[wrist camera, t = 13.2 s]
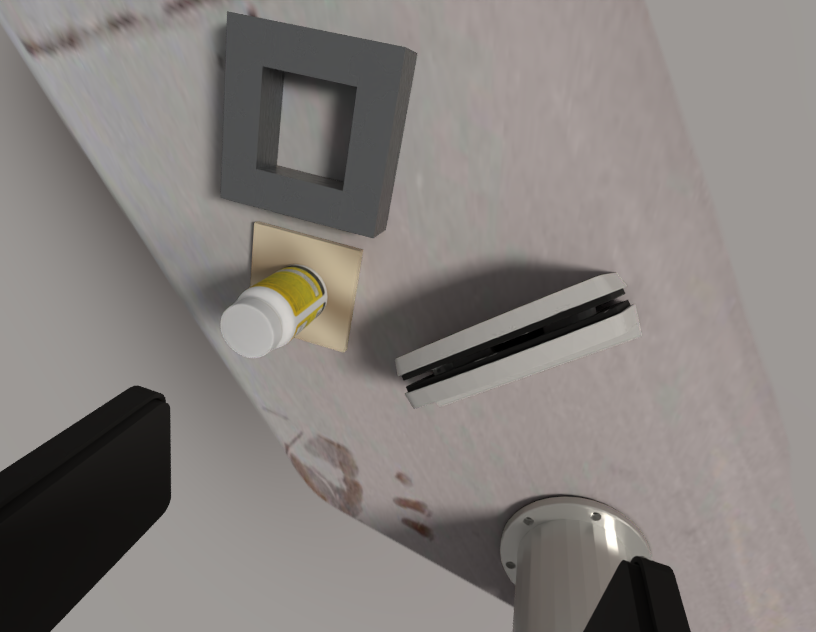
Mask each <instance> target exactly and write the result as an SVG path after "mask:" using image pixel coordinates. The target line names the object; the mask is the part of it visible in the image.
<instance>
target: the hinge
mask: <svg viewBox="0 0 816 632" xmlns="http://www.w3.org/2000/svg"><path fill="white" fill-rule="evenodd" d="M624 287H627V285H626V284H625V283H624V281H623V280H622V279H621V277H620V276H619V275H618V274H617V273H616V272H615V273H610V274H604V275H600V276H597V277H594V278H591V279H589V280H586V281H584V282H581V283H579V284H576V285H574V286H571V287H569V288H566V289H564V290H561V291H559V292H556V293H554V294H551V295H549V296H546V297H544V298H541V299H539V300H536V301H534V302H531V303H529V304H526V305H524V306H521V307H519V308H516V309H514V310H511V311H509V312H506V313H504V314H501V315H499V316H496V317H494V318H492V319H489V320H487V321H484V322H482V323H479V324H477V325H474V326H472V327H470V328H467V329H465V330H462V331H460V332H457V333H455V334H453V335H450V336H448V337H446V338H443V339H441V340H438V341H436V342H434V343H431V344H429V345H426V346H424V347H422V348H419V349H417V350H415V351H412V352H410V353H408V354H405V355H403V356H401V357H398V358H396V359H395V363H396V369H397V375H398V376H400V375H402V378H403V380H407V379H409V378H412V377H415V376H417V375H420V374H422V373H425V372H428V371H430V370H432V371H433V373H434V374H432V375H430V376H427V377H425V378H423V379H421V380H419V381H417V382H415V383H413V384H411V385H408V386H406V388H407V391H408V392H407V393H405V395H406V397H407V398H408V400H409V402H410V404H411V405H412V407H413V408H414V409H415V408H419V407H422V406H425V405H429V404H432V403H435V402H436V403H437V404H438V405H439V406H440V407H442V406H445V405H448V404H451V403H454V402H456V401H459V400H462V399H465V398H468V397H471V396H474V395H476V394H479V393H482V392H485V391H488V390H491V389H494V388H496V387H499V386H502V385H505V384H508V383H511V382H514V381H516V380H519V379H522V378H525V377H528V376H531V375H534V374H536V373H539V372H542V371H545V370H548V369H551V368H554V367H556V366H559V365H562V364H565V363H568V362H571V361H574V360H576V359H579V358H582V357H585V356H588V355H591V354H594V353H596V352H599V351H602V350H605V349H608V348H611V347H614V346H616V345H619V344H622V343H625V342H628V341H631V340H634V339H636V338H639V337H642V332H641V328H640V324H639V319H638V315H637V310H636V306H635V304H633V305H630V303H629V301H628V300H626V301H624V302H621V303H618V304H616V305H613V306H611V307H608V308H605V309H603V310H601V311H600V312H599V313H597V312H596V309H595V307H596V306H598V305H601V304H603V303H606V302H608V301H611V300H613V299H615V298H617V297H619V296H621V295H624V294H625V292H624V290H623V288H624ZM542 327H543V330H544V335H541V336H539V337H536V338H533V339H531V340H528V341H525V342H523V343H520V344H518V345H515V346H512V347H510V348H507V349H504V350H502V351H499V352H496V351H495V350H494V348H493V346H495V345H498V344H501V343H503V342H506V341H508V340H511V339H513V338H516V337H519V336H521V335H524V334H526V333H529V332H532V331H534V330H537V329H539V328H542Z"/></svg>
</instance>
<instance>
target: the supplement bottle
mask: <svg viewBox="0 0 816 632" xmlns="http://www.w3.org/2000/svg"><path fill="white" fill-rule="evenodd" d="M326 304H327V289H326V286H325V283H324V281H323V279H322V278H321V277H320V275H319V274H318V273H317V272H315V271H314V270H313V269H311V268H309V267H307V266H304V265H299V264H294V265H289V266H286V267H284V268H282V269H280V270H279V271H277V272H275V273H274V274H272V275H270V276H269V277H267V278H265V279H263V280H262V281H260V282H258V283H257V284H255V285H253V286H251V287H250V288H248V289H246V290H245V291H244V292H243V293H242V294H241V295H240V296H239V297H238V299H237V301H236V302H235V303H234V304H232V305H231V306H230V307H228V308H227V309H226V310H225V311H224V313H223V314H222V317H221V322H220V328H221V333H222V336H223V338H224V340H225V342H226V343H227V344H228V346H229V347H230V348H231V349H232V350H234V351H235V352H236V353H238V354H240V355H241V356H244V357H248V358H259V357H262V356H264V355H266V354H267V353H268V352H270V351H271V350H273V349H277V348H280V347H282V346H284V345H286V344H287V343H288V342H289V341H291V340H292V339H293V338H294V337H295V336H296V335H297V334H298V333H300V332H301V331H302V330H303V329H304V328H305V327H306V326H308V325H309V324H310V323H311V322H312V321H313V320H314V319H315V318H317V317H318V316H319V315H320V314H321V313H322V312H323V310H324V309H325V306H326Z"/></svg>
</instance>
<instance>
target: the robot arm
mask: <svg viewBox="0 0 816 632" xmlns="http://www.w3.org/2000/svg"><path fill="white" fill-rule="evenodd" d="M170 445H171V444H170V406H169V404H168V403H166V400H165V397H164V395H163V394H161V393H158V392H155V391H152V390H149V389H147V388H144V387H141V386H133V387H130V388H129V389H127V390H126V391H124V392H122V393H121V394H119V395H118V396H116V397H115V398H113V399H112V400H110V401H109V402H107V403H105V404H104V405H103V406H101V407H99V408H98V409H96V410H95V411H93V412H92V413H90V414H89V415H87V416H85V417H84V418H82V419H81V420H80V421H78V422H76V423H75V424H73V425H72V426H70V427H69V428H67V429H66V430H64V431H62V432H61V433H59V434H58V435H56V436H55V437H53V438H52V439H50V440H49V441H47V442H46V443H44V444H42V445H41V446H39V447H38V448H36V449H35V450H33V451H32V452H30V453H29V454H27V455H26V456H24V457H23V458H21V459H20V460H18V461H16V462H15V463H13V464H12V465H11V466H9V467H7V468H6V469H4V470H3V471H1V472H0V632H50V631H51V630H52V629H53V628H54V627H55V626H56V625H57V624H58V623H59V622H60V621H61V620H62V619H63V618H64V617H65V616H66V614H68V613H69V612H70V611H71V609H72V608H73V607H74V606H75V605H76V604H77V603H78V602H79V601H80V600H81V599H82V598H83V597H84V596H85V595H86V594H87V593H88V592H89V591H90V590H91V589H92V588H93V587H94V585H95V584H96V583H98V581H99V580H100V579H101V578H102V577H103V576H104V575H105V574H106V573H107V572H108V571H109V570H110V569H111V568H112V567H113V566H114V565H115V564H116V563H117V562H118V561H119V560H120V559H121V558H122V556H123V555H124V554H125V553H126V552H127V551H128V550H129V549H130V548H131V547H132V546H133V545H134V544H135V543H136V542H137V541H138V540H139V539H140V538H141V537H142V536H143V535H144V534H145V533H146V532H147V530H149V528H150V527H151V526H152V525H153V524H154V523H155V522H156V521H157V520H158V519H159V518H160V517H161V516H162V515H163V513H164V512H165V511H166V509H167V507H168V505H169V503H170V500H171V453H170V451H171V447H170ZM500 556H501V562H502V565H503V568H504V570H505V572H506V574H507V576H508V577H509V579H510V580H511V582H512V583H513V584H514V585H515V601H514V618H513V632H691V631H690V628H689V624H688V621H687V617H686V614H685V610H684V607H683V603H682V600H681V596H680V592H679V589H678V585H677V582H676V578H675V575H674V573H673V570H672V569H671V568H670V567H669V566H666V565H663V564H660V563H657V562H655V561H652V555H651V552H650V548H649V545H648V542H647V540H646V539H645V537H644V535H643V533H642V532H641V531H640V529H639V528H638V527H637V526H636V525H635V524H634V523H633V522H632V521H631V520H630V519H628V518H627V517H626V516H625V515H623V514H622V513H620V512H619V511H617V510H615V509H613V508H611V507H610V506H607V505H605V504H602V503H599V502H597V501H593V500H589V499H584V498H579V497H553V498H547V499H543V500H539V501H536V502H533V503H531V504H529V505H527V506H525V507H523V508H522V509H520V510H519V511H517V512H516V513H515V514H514V515H513V516H512V517H511V518H510V519H509V521H508V522H507V524H506V526H505V528H504V529H503V533H502V537H501V544H500Z"/></svg>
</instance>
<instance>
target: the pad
mask: <svg viewBox="0 0 816 632" xmlns="http://www.w3.org/2000/svg"><path fill="white" fill-rule="evenodd" d="M362 253H363V250H362V249H359V248H355V247H351V246H348V245H344V244H340V243H337V242H333V241H329V240H325V239H322V238H318V237H314V236H311V235H307V234H303V233H300V232H296V231H292V230H289V229H285V228H281V227H277V226H274V225H270V224H266V223H263V222H259V221H258V222H255V223H254V236H253V251H252V266H251V282H250V287H251V286H253V285H255V284H257V283H258V282H260V281H262V280H263V279H265V278H267V277H269V276H270V275H272V274H274V273H275V272H277V271H279V270H280V269H282V268H284V267H286V266H289V265H294V264H299V265H304V266H307V267H309V268H311V269H313V270H314V271H315V272H317V273H318V274H319V275H320V277H321V278H322V279H323V281H324V283H325V286H326V289H327V304H326V306H325V309H324V310H323V312H322V313H321V314H320V315H319V316H318V317H317V318H315V319H314V320H313V321H312V322H311V323H310V324H309V325H308V326H306V327H305V328H304V329H303V330H302V331H301V332H300V333H298V334H297V335H296V336H295V337H294V338H298V339H301V340H304V341H307V342H311V343H314V344H317V345H320V346H324V347H327V348H330V349H333V350H337V351H340V352H343V353H344V352H345V351H346V350H347V345H348V339H349V333H350V327H351V321H352V315H353V308H354V302H355V296H356V290H357V284H358V278H359V272H360V265H361V259H362Z"/></svg>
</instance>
